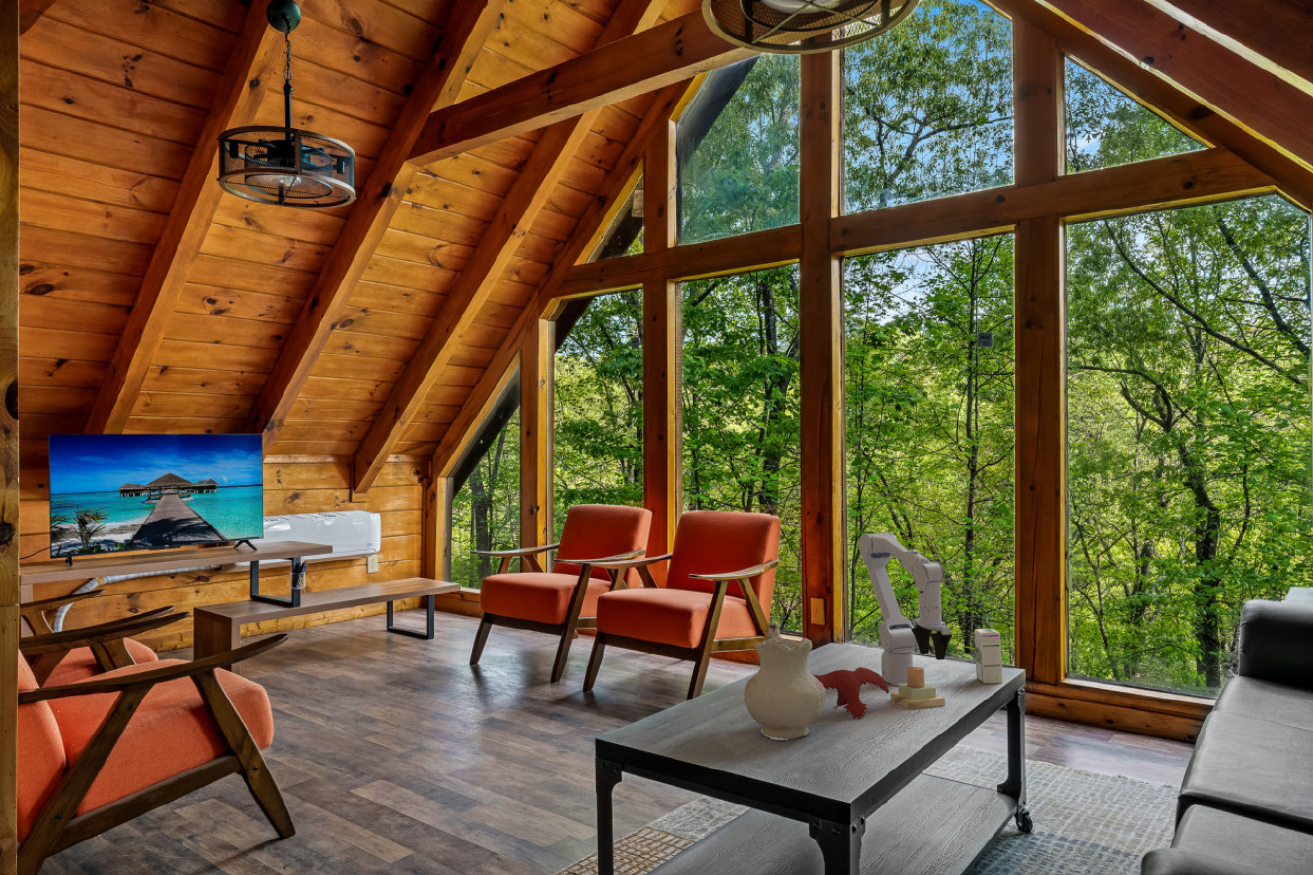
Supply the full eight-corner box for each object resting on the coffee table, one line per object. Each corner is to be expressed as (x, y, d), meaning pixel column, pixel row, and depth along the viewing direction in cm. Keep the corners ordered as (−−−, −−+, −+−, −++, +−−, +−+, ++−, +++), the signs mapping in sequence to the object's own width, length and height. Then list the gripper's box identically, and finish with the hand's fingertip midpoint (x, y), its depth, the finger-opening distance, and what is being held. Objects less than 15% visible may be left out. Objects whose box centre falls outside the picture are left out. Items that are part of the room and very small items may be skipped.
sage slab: (898, 693, 232) (898, 683, 232) (921, 690, 234) (921, 681, 234) (912, 700, 225) (911, 690, 225) (936, 697, 227) (935, 687, 227)
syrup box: (1003, 683, 246) (1001, 632, 247) (982, 683, 246) (980, 632, 247) (995, 678, 252) (993, 628, 252) (975, 678, 252) (973, 628, 252)
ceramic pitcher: (731, 727, 216) (721, 628, 215) (799, 711, 222) (790, 615, 222) (770, 754, 195) (759, 645, 195) (844, 736, 202) (834, 630, 202)
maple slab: (891, 701, 233) (890, 692, 233) (923, 698, 236) (923, 688, 236) (911, 711, 223) (911, 702, 223) (945, 707, 226) (944, 698, 226)
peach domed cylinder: (904, 684, 231) (903, 667, 231) (918, 683, 232) (918, 666, 232) (913, 688, 227) (912, 671, 227) (927, 687, 228) (927, 670, 228)
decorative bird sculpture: (896, 724, 225) (872, 673, 235) (912, 706, 219) (886, 655, 229) (801, 738, 215) (780, 684, 225) (814, 720, 209) (792, 666, 219)
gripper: (958, 609, 231) (960, 660, 230) (928, 602, 245) (930, 650, 244) (935, 611, 229) (937, 662, 229) (906, 603, 243) (908, 652, 243)
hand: (932, 656), depth 236 cm, fingers open, 7 cm apart
